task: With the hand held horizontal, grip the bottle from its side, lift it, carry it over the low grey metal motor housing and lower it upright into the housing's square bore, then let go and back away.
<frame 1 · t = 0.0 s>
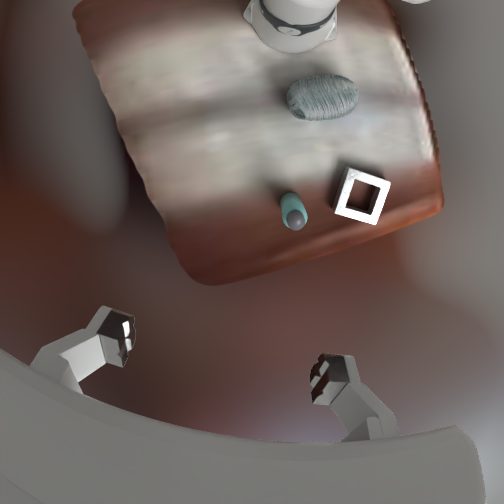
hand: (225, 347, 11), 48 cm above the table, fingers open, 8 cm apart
spool: (318, 98, 47), on the table
housing: (359, 193, 55), on the table
bottle: (290, 202, 57), on the table
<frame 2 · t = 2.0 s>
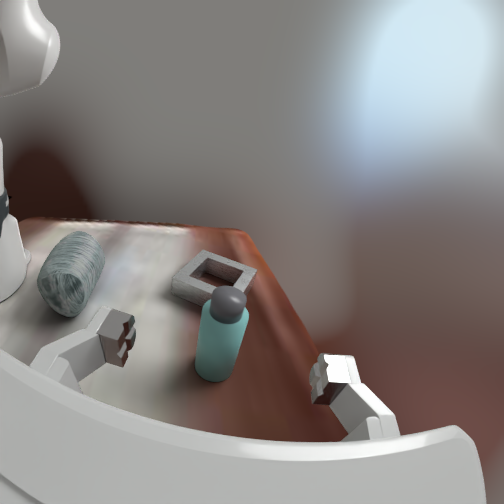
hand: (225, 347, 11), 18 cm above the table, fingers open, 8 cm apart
spool: (76, 293, 34), on the table
housing: (214, 288, 43), on the table
bottle: (213, 366, 30), on the table
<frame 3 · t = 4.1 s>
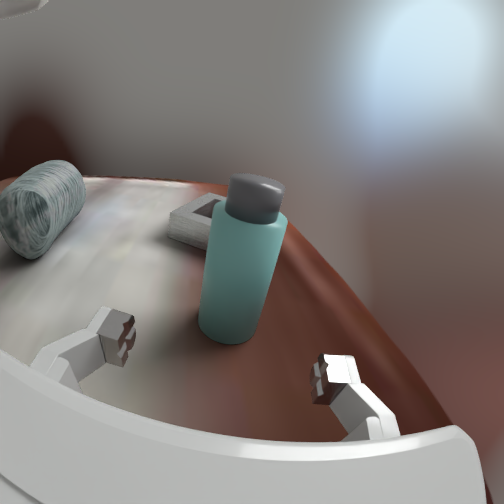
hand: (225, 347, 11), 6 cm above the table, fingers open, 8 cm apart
spool: (46, 237, 25), on the table
housing: (224, 234, 34), on the table
bottle: (227, 322, 21), on the table
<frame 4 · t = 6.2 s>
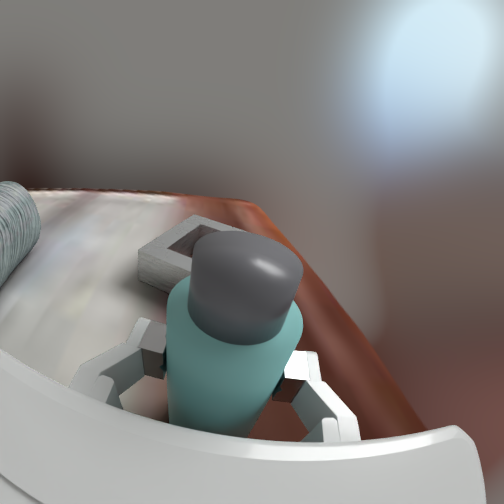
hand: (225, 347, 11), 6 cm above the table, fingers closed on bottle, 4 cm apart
housing: (211, 273, 26), on the table
bottle: (209, 423, 13), on the table, touching gripper
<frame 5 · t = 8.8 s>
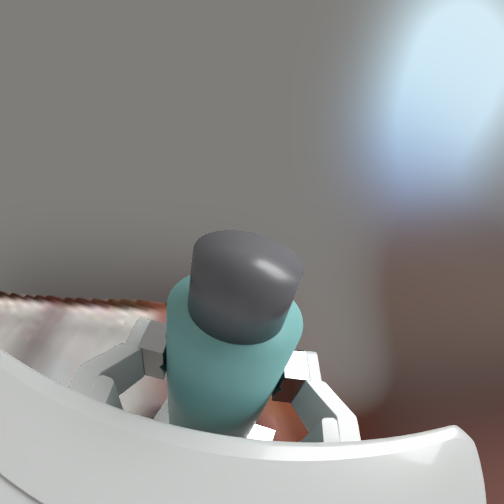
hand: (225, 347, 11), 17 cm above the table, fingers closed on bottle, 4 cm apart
housing: (198, 464, 18), on the table
bottle: (209, 422, 13), point 11 cm above the table, touching gripper
when the fingers open (8 cm above the table, at t = 11.3 s): bottle drops 2 cm, resting in housing.
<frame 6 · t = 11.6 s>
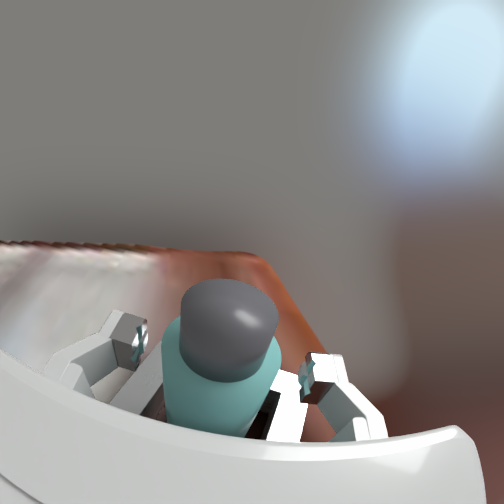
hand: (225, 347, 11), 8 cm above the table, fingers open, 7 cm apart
housing: (205, 434, 14), on the table
bottle: (204, 434, 14), resting in housing
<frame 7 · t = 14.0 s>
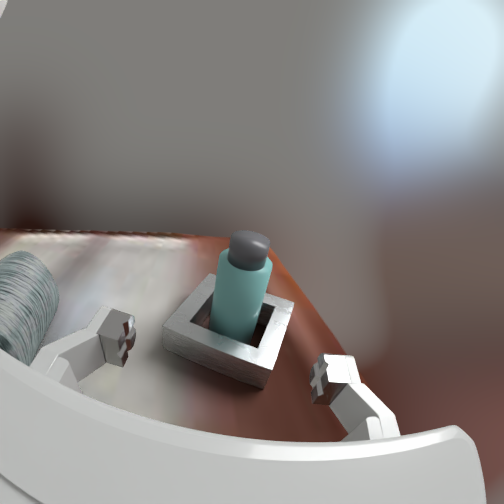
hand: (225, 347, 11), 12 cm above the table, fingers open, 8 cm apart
spool: (23, 345, 18), on the table
housing: (230, 335, 27), on the table
bottle: (229, 335, 27), resting in housing
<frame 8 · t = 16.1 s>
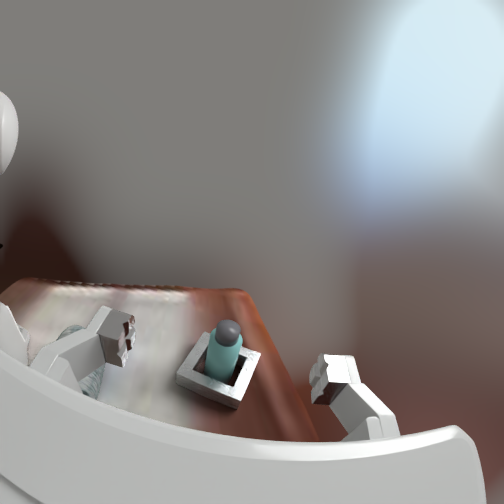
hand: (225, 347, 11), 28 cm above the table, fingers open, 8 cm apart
spool: (81, 384, 31), on the table
housing: (218, 374, 40), on the table
bottle: (217, 374, 40), resting in housing
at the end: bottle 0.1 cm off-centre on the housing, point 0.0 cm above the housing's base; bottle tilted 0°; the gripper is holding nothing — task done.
